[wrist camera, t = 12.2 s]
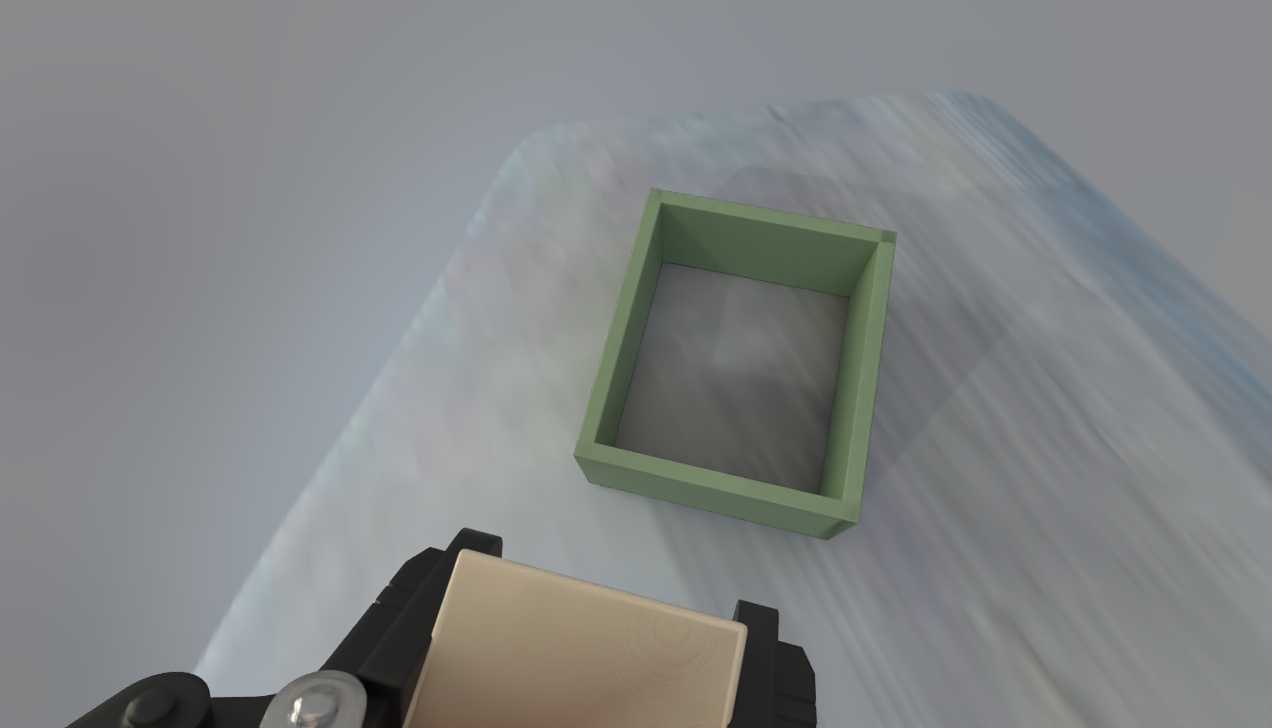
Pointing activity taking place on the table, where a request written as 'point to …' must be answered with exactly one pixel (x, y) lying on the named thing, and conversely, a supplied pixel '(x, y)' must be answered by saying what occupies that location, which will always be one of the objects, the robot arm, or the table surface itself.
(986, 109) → the table surface
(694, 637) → the tea packet
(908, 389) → the table surface
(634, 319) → the bin
